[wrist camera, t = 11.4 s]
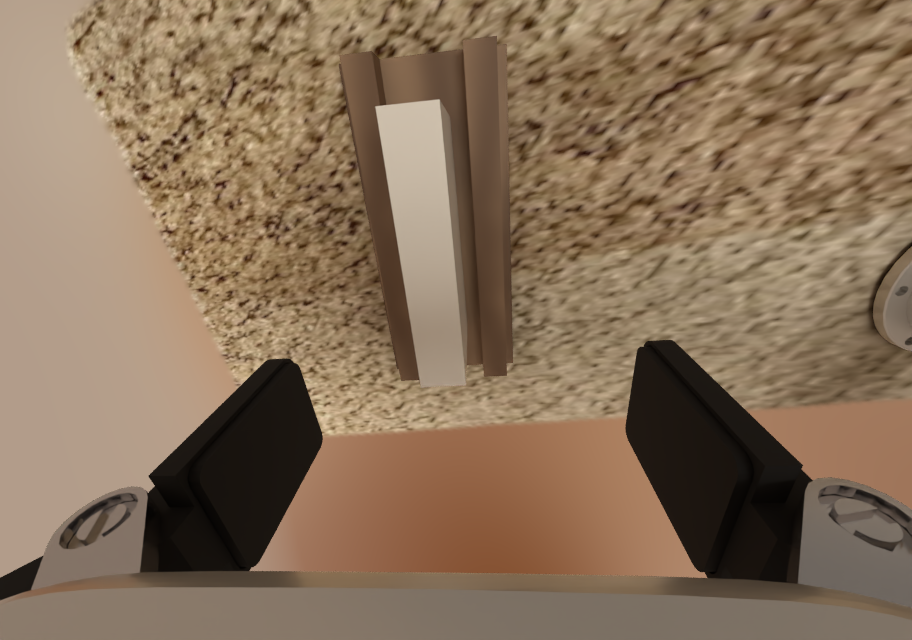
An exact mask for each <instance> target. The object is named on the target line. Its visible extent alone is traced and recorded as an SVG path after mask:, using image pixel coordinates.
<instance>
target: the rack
mask: <svg viewBox="0 0 912 640" xmlns="http://www.w3.org/2000/svg"><path fill="white" fill-rule="evenodd" d="M339 56H340V61H341V64H339V68H340V73H341V78H342V84H343V89H344V94H345V99H346V104H347V110H348V115H349V120H350V125H351V130H352V136H353V141H354V146H355V151H356V156H357V162H358V167H359V172H360V177H361V182H362V188H363V193H364V198H365V203H366V208H367V214H368V219H369V224H370V229H371V234H372V240H373V245H374V250H375V255H376V260H377V266H378V271H379V276H380V281H381V286H382V292H383V297H384V302H385V307H386V312H387V318H388V323H389V328H390V333H391V338H392V344H393V349H394V354H395V359H396V364H397V369H399V372H400V377H401V381H405V380H420V379H419V372H418V366H417V360H416V354H415V348H414V342H413V335H412V329H411V323H410V317H409V311H408V305H407V299H406V292H405V286H404V280H403V274H402V268H401V262H400V255H399V249H398V243H397V237H396V231H395V225H394V218H393V212H392V206H391V200H390V194H389V188H388V182H387V175H386V169H385V163H384V157H383V151H382V145H381V138H380V132H379V126H378V120H377V114H376V108H375V106H383V105H392V104H402V103H411V102H420V101H429V100H438V99H440V101H441V103H442V104H443V106H444V108H445V109H446V111H447V113H448V114H449V116H450V119H451V131H452V143H453V155H454V167H455V179H456V191H457V203H458V215H459V228H460V240H461V252H462V264H463V276H464V288H465V300H466V312H467V365H478V364H483V367H484V377H486V376H506V375H507V367H506V363H513V345H512V295H511V245H510V195H509V144H508V94H507V44H503V45H497V36H492V37H484V38H476V39H468V40H463V49H461V50H453V51H444V52H436V53H428V54H420V55H411V56H403V57H395V58H386V59H379V58H378V57H377V56H376V55H375V54H374V53H373V52H372V51H370V52H362V53H353V54H345V55H339Z"/></svg>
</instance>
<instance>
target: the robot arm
mask: <svg viewBox="0 0 912 640" xmlns="http://www.w3.org/2000/svg"><path fill="white" fill-rule="evenodd" d="M873 319H874V323H875V327H876V328H877V330H878V332H879V333H880V335H881V336H882V337H883V338H885V339H886V340H887V341H888V342H890V343H892V344H894V345H896V346H898V347H900V348H902V349H905V350H908V351H911V352H912V247H910V248H909V249H908V250H907V251H906V252H905V253H904V254H903V255H902V256H901V257H900V258H899V259H898V261H897V262H896V263H895V264H894V265H893V266H892V268H891V269H890V271H889V272H888V273H887V275H886V276H885V277H884V279H883V281H882V283H881V285H880V287H879V289H878V291H877V294H876V298H875V301H874V306H873ZM626 435H627V438H628V441H629V443H630V444H631V446H632V448H633V450H634V452H635V454H636V456H637V458H638V460H639V462H640V463H641V466H642V468H643V469H644V471H645V473H646V475H647V477H648V479H649V481H650V483H651V485H652V487H653V489H654V491H655V492H656V494H657V496H658V498H659V500H660V502H661V504H662V506H663V508H664V510H665V512H666V514H667V516H668V517H669V519H670V521H671V523H672V525H673V527H674V529H675V531H676V533H677V535H678V537H679V539H680V541H681V542H682V544H683V546H684V548H685V550H686V552H687V554H688V556H689V558H690V560H691V562H692V563H693V565H694V567H695V568H696V569H697V570H698V571H700V572H705V574H706V575H707V578H688V577H659V576H658V577H657V576H612V575H610V576H609V575H607V576H606V575H555V574H554V575H553V574H550V575H549V574H493V573H490V574H489V573H409V572H408V573H407V572H406V573H405V572H289V571H288V572H287V571H285V572H283V571H279V572H277V571H249V570H250V569H251V567H254V566H256V564H257V563H258V562H259V561H260V559H261V557H262V556H263V554H264V552H265V550H266V548H267V546H268V544H269V543H270V541H271V539H272V537H273V535H274V533H275V531H276V530H277V528H278V526H279V524H280V522H281V520H282V518H283V516H284V515H285V513H286V511H287V509H288V507H289V505H290V503H291V502H292V500H293V498H294V496H295V494H296V492H297V490H298V489H299V487H300V485H301V483H302V481H303V479H304V477H305V475H306V474H307V472H308V470H309V468H310V466H311V464H312V462H313V461H314V459H315V457H316V455H317V453H318V451H319V450H320V448H321V445H322V440H323V437H322V432H321V429H320V426H319V423H318V420H317V417H316V414H315V411H314V408H313V405H312V403H311V400H310V397H309V394H308V391H307V388H306V385H305V382H304V379H303V376H302V373H301V370H300V367H299V366H298V364H296V363H294V362H293V361H292V360H291V359H270V360H267V361H266V362H264V363H263V364H262V365H261V366H260V367H259V368H258V369H257V370H256V371H255V372H254V373H253V374H252V375H251V376H250V377H249V378H248V379H247V380H246V381H245V382H244V383H243V384H242V385H241V386H240V387H239V388H238V389H237V390H236V391H235V392H234V393H233V394H232V395H231V396H230V397H229V398H228V399H227V400H226V401H225V402H224V403H223V404H222V405H221V406H219V407H218V409H217V410H215V411H214V413H212V414H211V415H210V416H209V417H208V418H207V419H206V420H205V421H204V422H203V423H202V424H201V425H200V426H199V427H198V428H197V429H196V430H195V431H194V432H193V433H192V434H191V435H190V436H189V437H188V438H187V439H186V440H185V441H184V442H183V443H182V444H181V445H180V446H179V447H178V448H177V449H176V450H175V451H173V453H171V454H170V455H169V456H168V457H167V458H166V459H165V460H164V461H163V462H162V463H161V464H160V465H159V466H158V467H157V468H156V469H155V470H154V471H153V472H152V473H151V474H150V475H149V478H150V479H151V480H152V482H153V484H154V485H155V487H154V488H153V489H152V490H151V491H150V492H149V493H147V491H146V490H144V489H143V488H141V487H127V488H122V489H118V490H116V491H113V492H110V493H108V494H105V495H103V496H101V497H99V498H97V499H96V500H93V501H92V502H90V503H89V504H87V505H86V506H84V507H82V508H81V509H79V510H78V511H77V512H75V513H74V514H73V515H72V516H71V517H69V518H68V519H67V520H66V521H65V522H64V523H63V524H62V525H61V526H60V527H59V528H58V529H57V530H56V531H55V533H54V534H53V536H52V538H51V539H50V541H49V543H48V545H47V548H46V550H45V553H44V556H42V557H40V558H38V559H36V560H34V561H32V562H30V563H28V564H26V565H24V566H22V567H20V568H18V569H17V570H14V571H13V572H11V573H9V574H7V575H5V576H3V577H1V578H0V640H912V510H911V509H910V508H908V507H907V506H906V505H904V504H902V503H900V502H899V501H897V500H895V499H894V498H892V497H890V496H889V495H887V494H884V493H882V492H880V491H878V490H875V489H873V488H871V487H868V486H866V485H863V484H859V483H856V482H853V481H849V480H844V479H838V478H818V479H816V480H812V479H810V478H809V477H808V475H806V474H805V473H804V472H803V471H802V470H801V468H802V466H803V465H802V464H801V463H800V462H799V461H798V460H797V459H796V458H795V457H794V456H792V455H791V454H790V453H789V452H788V451H787V450H786V449H785V448H784V447H783V446H782V445H781V444H780V443H779V442H778V441H777V440H776V439H775V438H774V437H773V436H772V435H771V434H770V433H769V432H767V431H766V429H765V428H763V427H762V426H761V425H760V424H759V423H758V422H757V421H756V420H755V419H754V418H753V417H752V416H751V415H750V414H749V413H748V412H747V411H746V410H745V409H744V408H743V407H742V406H741V405H740V404H739V403H738V402H737V401H735V400H734V399H733V398H732V397H731V396H730V395H729V394H728V393H727V392H726V391H725V390H724V389H723V388H722V387H721V386H720V385H719V384H718V383H717V382H716V381H715V380H714V379H713V378H712V377H711V376H710V375H709V374H707V373H706V372H705V371H704V370H703V369H702V368H701V367H700V366H699V365H698V364H697V363H696V362H695V361H694V360H693V359H692V358H691V357H690V356H689V355H688V354H687V353H686V352H685V351H684V350H683V349H682V348H681V347H679V346H678V345H677V344H676V343H675V342H674V341H672V340H660V341H647V342H646V343H645V345H644V347H639V348H638V350H637V355H636V362H635V368H634V375H633V381H632V388H631V394H630V401H629V407H628V413H627V420H626Z"/></svg>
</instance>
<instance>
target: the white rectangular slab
mask: <svg viewBox="0 0 912 640" xmlns="http://www.w3.org/2000/svg"><path fill="white" fill-rule="evenodd" d="M375 108H376V114H377V120H378V126H379V132H380V138H381V145H382V151H383V157H384V163H385V169H386V175H387V182H388V188H389V194H390V200H391V206H392V212H393V218H394V225H395V231H396V237H397V243H398V249H399V255H400V262H401V268H402V274H403V280H404V286H405V292H406V299H407V305H408V311H409V317H410V323H411V329H412V335H413V342H414V348H415V354H416V360H417V366H418V372H419V379H420V385H421V387H441V386H462V385H466V367H467V312H466V300H465V288H464V276H463V264H462V252H461V240H460V228H459V215H458V203H457V191H456V179H455V167H454V155H453V143H452V131H451V119H450V116H449V114H448V113H447V111H446V109H445V108H444V106H443V104H442V103H441V101H440V99H438V100H429V101H420V102H411V103H402V104H392V105H383V106H375Z"/></svg>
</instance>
